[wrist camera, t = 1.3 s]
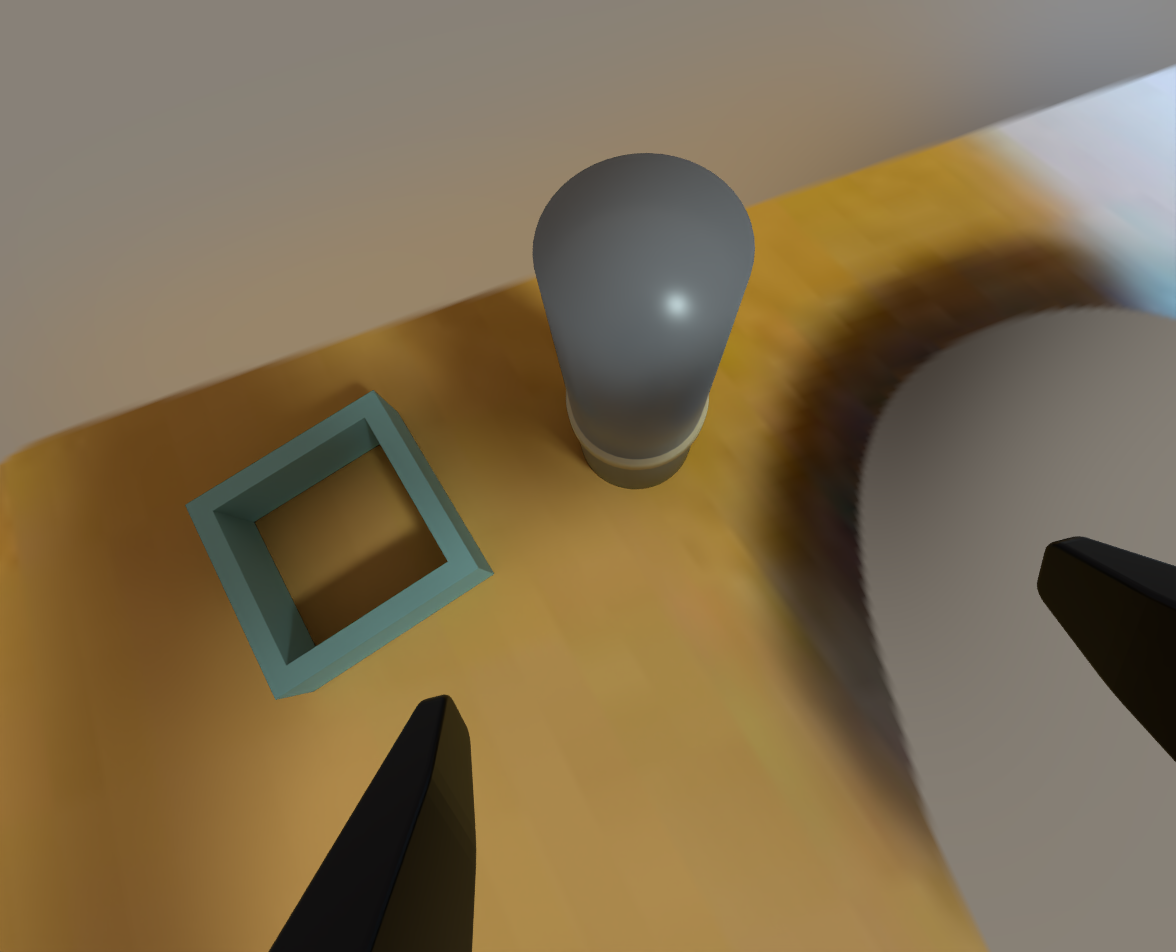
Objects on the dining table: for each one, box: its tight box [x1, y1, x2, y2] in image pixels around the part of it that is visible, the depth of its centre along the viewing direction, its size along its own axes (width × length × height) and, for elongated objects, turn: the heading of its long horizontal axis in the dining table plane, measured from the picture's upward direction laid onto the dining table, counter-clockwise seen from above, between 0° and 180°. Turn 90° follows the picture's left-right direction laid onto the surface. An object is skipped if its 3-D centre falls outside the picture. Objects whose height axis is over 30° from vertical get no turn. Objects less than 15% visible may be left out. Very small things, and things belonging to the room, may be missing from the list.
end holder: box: [185, 390, 494, 700], centre depth 23 cm, size 8×8×2 cm
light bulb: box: [533, 153, 755, 489], centre depth 18 cm, size 5×5×12 cm
